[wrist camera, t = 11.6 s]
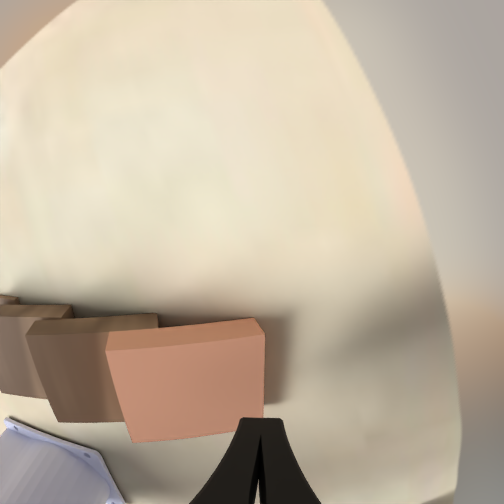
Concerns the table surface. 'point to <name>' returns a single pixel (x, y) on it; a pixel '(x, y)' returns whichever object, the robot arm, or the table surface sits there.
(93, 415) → the walnut domino
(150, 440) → the terracotta domino
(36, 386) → the walnut domino
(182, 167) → the table surface
